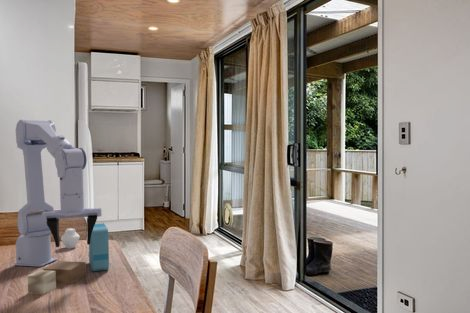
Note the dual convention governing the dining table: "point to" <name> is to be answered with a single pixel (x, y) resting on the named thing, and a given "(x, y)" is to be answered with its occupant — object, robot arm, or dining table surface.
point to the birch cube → (41, 282)
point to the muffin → (70, 238)
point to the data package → (99, 248)
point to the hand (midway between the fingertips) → (73, 245)
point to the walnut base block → (67, 271)
